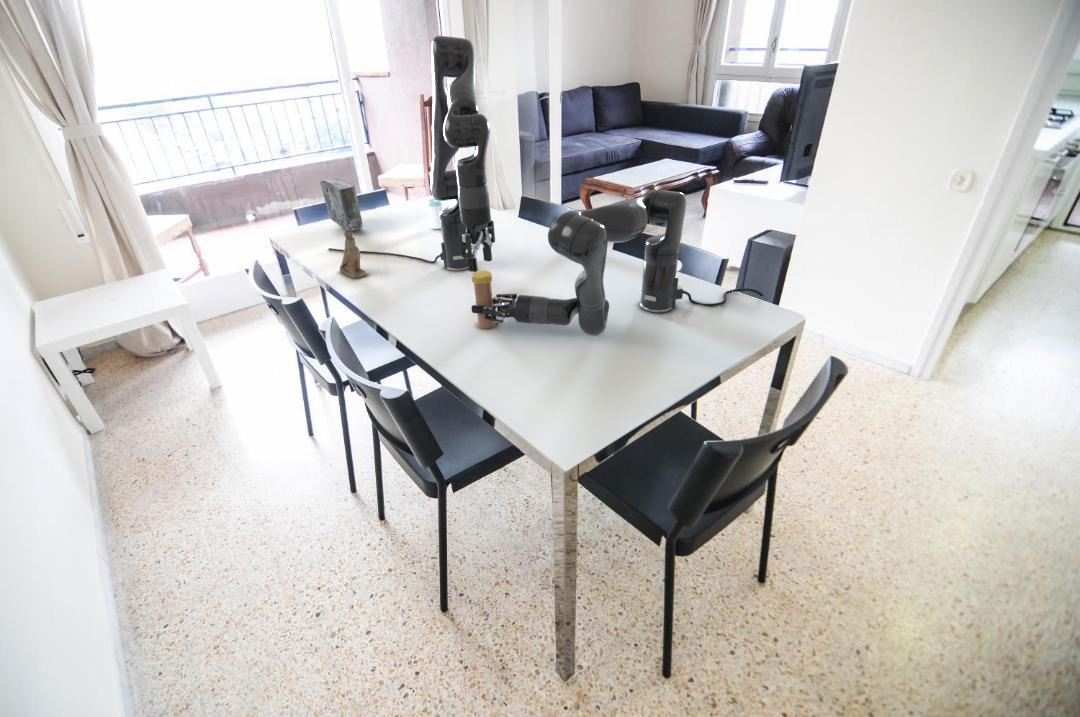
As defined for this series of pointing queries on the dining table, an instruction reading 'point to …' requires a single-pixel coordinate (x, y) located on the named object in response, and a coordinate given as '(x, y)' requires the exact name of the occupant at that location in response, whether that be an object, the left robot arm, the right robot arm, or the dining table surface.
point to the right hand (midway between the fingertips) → (475, 304)
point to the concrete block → (342, 203)
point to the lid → (481, 277)
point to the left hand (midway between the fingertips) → (480, 265)
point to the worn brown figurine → (351, 258)
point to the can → (435, 213)
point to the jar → (484, 303)
